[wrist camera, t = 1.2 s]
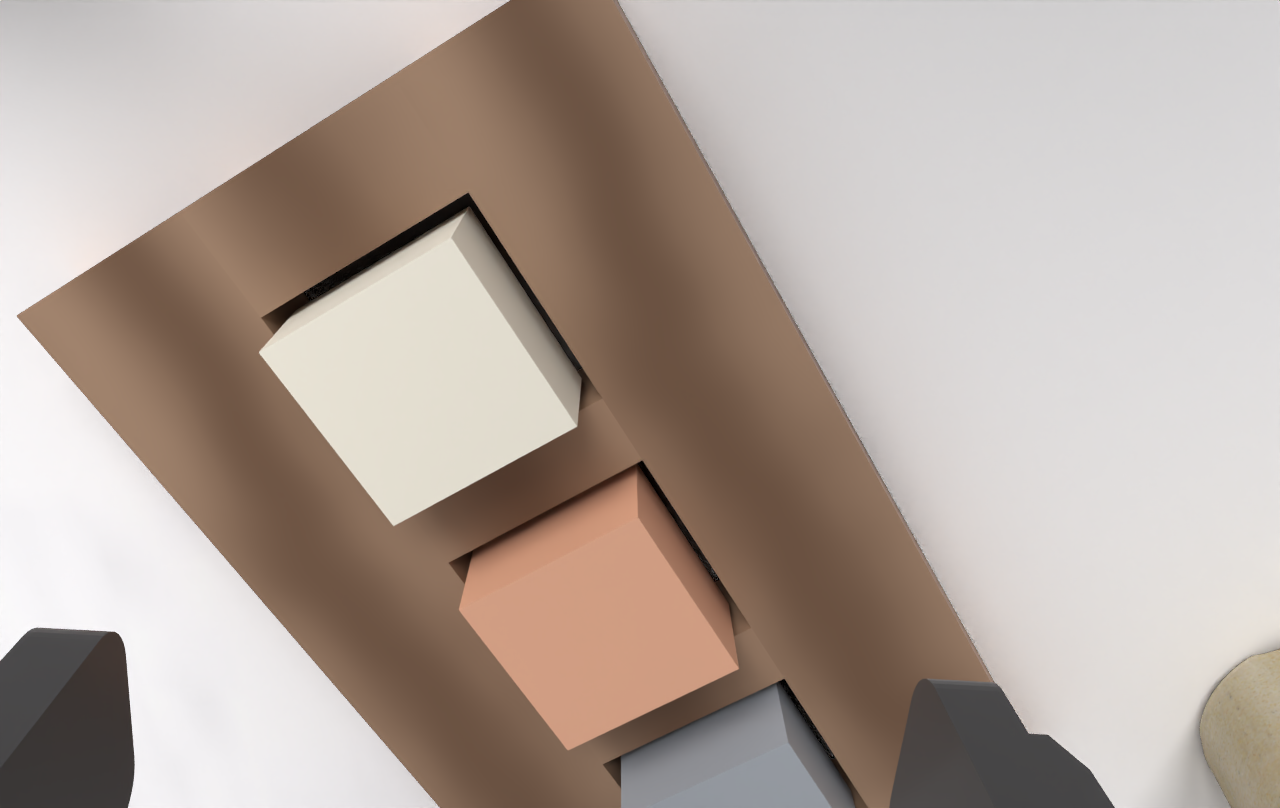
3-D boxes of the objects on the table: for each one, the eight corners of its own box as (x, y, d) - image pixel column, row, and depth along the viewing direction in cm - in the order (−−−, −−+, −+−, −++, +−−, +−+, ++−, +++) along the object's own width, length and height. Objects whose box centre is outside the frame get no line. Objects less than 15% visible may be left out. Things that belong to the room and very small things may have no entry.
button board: (589, -50, 26) (586, -49, 23) (1031, 749, 35) (1066, 817, 33) (74, 279, 28) (15, 315, 26) (613, 931, 38) (612, 1008, 36)
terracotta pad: (636, 461, 29) (637, 517, 26) (728, 603, 30) (738, 668, 28) (473, 547, 30) (458, 610, 27) (572, 679, 31) (567, 750, 29)
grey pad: (773, 672, 31) (788, 742, 29) (850, 790, 33) (871, 866, 31) (621, 744, 32) (621, 819, 30) (703, 855, 34) (711, 935, 32)
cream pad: (469, 205, 26) (451, 237, 23) (581, 378, 28) (577, 426, 25) (295, 310, 27) (258, 352, 24) (415, 470, 29) (393, 526, 26)
